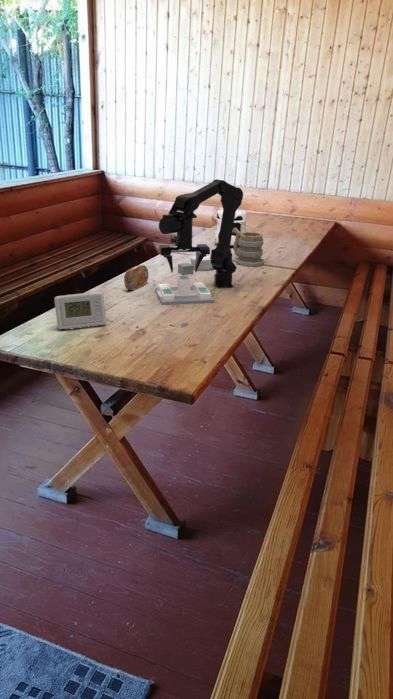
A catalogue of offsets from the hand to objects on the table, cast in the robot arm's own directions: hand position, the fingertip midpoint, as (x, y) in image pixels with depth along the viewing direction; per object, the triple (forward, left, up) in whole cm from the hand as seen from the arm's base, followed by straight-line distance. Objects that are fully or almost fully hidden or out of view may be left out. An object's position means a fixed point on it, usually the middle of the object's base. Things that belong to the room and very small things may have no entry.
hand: (183, 271), depth 209 cm
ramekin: (-16, -40, -10) cm, 44 cm away
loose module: (0, 0, -8) cm, 8 cm away
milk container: (-41, -84, -10) cm, 94 cm away
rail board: (0, 0, -10) cm, 10 cm away
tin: (+17, -14, -10) cm, 24 cm away
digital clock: (+39, +27, -10) cm, 49 cm away
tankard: (-39, -49, -10) cm, 64 cm away
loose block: (-7, -32, -10) cm, 34 cm away
